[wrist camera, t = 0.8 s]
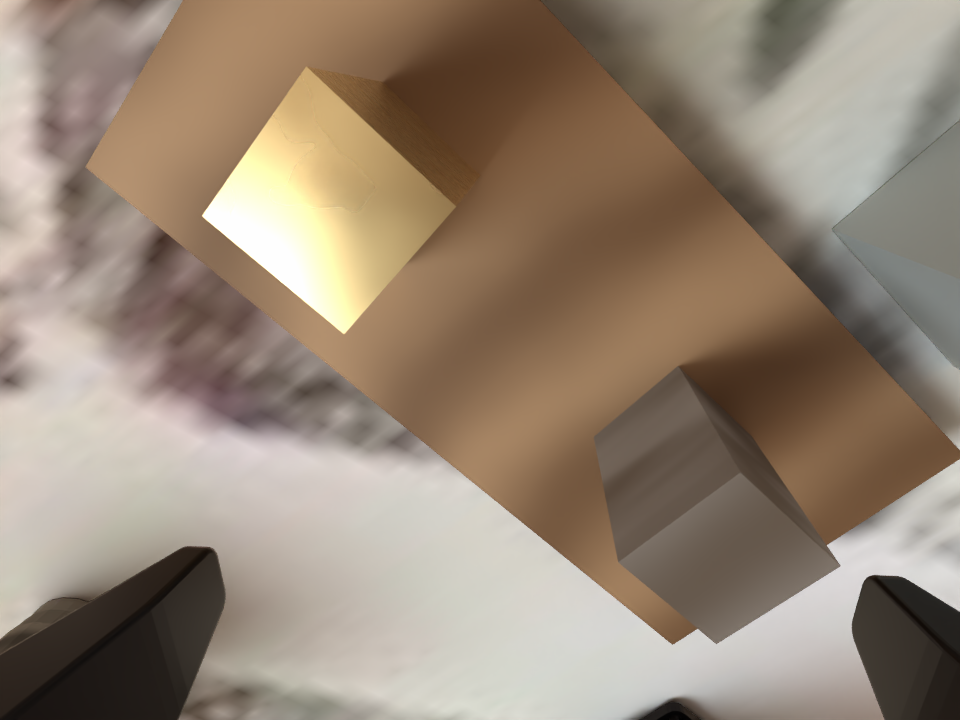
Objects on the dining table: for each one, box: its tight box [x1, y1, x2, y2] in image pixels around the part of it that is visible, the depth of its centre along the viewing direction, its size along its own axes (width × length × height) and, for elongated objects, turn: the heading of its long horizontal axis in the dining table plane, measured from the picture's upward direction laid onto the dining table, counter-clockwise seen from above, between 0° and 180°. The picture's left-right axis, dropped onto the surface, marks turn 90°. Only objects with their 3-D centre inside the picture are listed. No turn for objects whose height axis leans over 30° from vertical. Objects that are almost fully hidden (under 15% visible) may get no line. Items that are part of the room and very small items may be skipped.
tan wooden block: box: [202, 66, 480, 334], centre depth 14 cm, size 4×4×6 cm
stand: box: [86, 0, 960, 645], centre depth 16 cm, size 26×12×8 cm, turn 48°
